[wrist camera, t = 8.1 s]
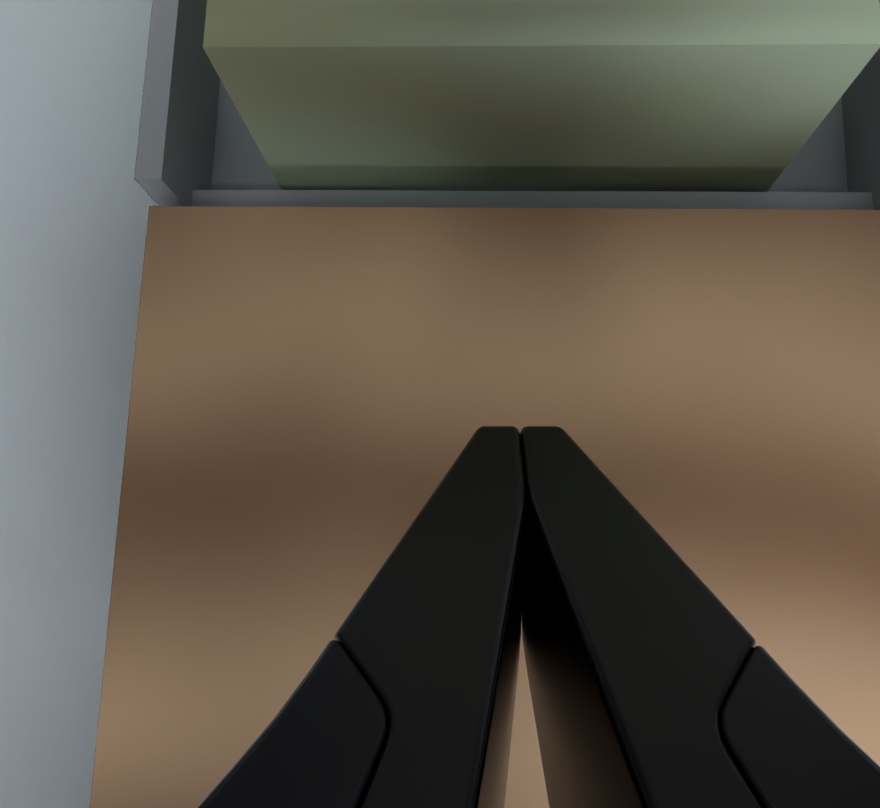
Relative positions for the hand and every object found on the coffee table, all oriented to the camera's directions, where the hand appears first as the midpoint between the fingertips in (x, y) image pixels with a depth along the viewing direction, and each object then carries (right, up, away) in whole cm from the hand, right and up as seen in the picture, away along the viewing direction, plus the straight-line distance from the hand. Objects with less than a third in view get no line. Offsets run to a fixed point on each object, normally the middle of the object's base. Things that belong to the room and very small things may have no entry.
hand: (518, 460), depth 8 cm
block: (+1, +5, +6) cm, 8 cm away
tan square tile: (+1, -2, +8) cm, 8 cm away
